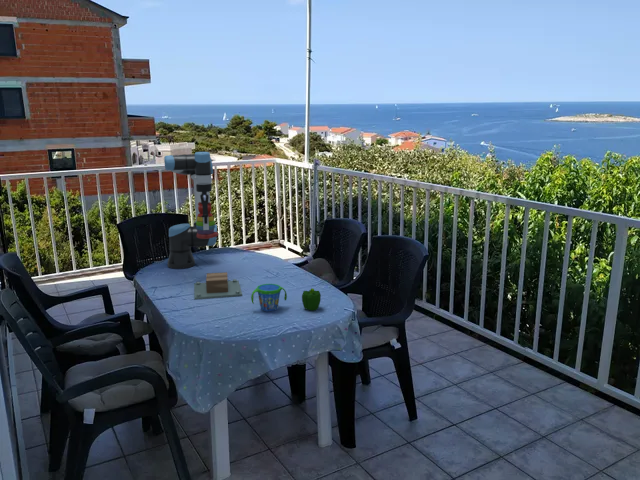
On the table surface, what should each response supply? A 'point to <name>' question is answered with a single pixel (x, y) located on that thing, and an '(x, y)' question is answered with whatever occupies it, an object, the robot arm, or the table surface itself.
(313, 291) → the bell pepper
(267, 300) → the snack cup
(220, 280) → the walnut brick
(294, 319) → the table surface
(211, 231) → the stacking bear
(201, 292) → the base plate
